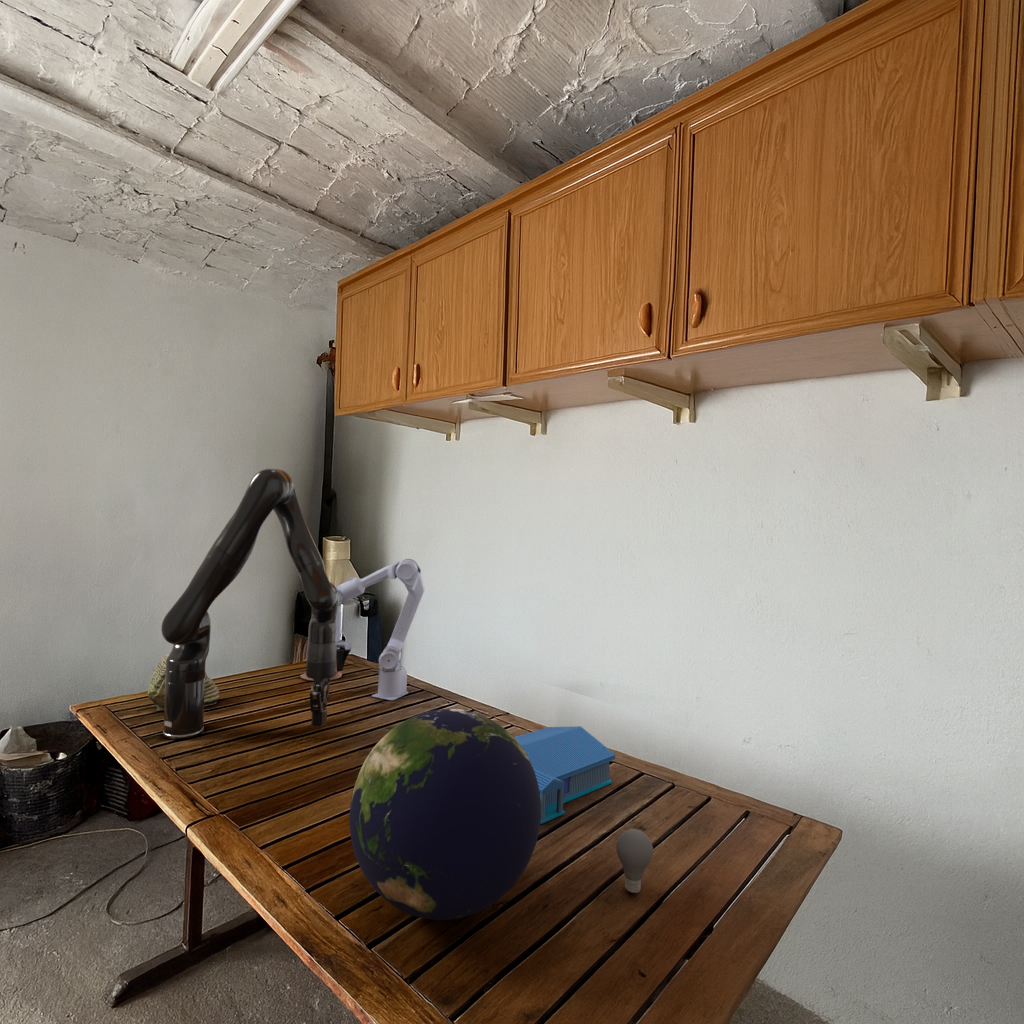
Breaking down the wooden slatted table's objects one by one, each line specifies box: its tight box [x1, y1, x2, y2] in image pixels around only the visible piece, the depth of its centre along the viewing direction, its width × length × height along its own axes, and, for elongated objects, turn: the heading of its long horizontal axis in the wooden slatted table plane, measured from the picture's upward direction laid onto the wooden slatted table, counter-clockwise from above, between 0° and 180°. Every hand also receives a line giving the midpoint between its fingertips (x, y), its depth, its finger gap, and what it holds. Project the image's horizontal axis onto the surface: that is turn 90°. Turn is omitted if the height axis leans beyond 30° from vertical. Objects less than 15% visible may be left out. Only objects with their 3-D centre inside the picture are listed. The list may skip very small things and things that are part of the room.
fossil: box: [147, 654, 221, 712], centre depth 185 cm, size 9×18×15 cm, turn 132°
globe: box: [349, 708, 541, 921], centre depth 100 cm, size 30×30×30 cm
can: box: [310, 707, 328, 728], centre depth 167 cm, size 4×4×4 cm
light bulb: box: [615, 828, 654, 894], centre depth 106 cm, size 6×6×10 cm
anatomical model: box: [299, 669, 343, 682], centre depth 220 cm, size 13×4×12 cm
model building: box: [513, 725, 616, 825], centre depth 140 cm, size 39×24×10 cm, turn 132°
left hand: (319, 722), depth 167 cm, fingers closed on can, 4 cm apart
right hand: (330, 669), depth 202 cm, fingers open, 7 cm apart
